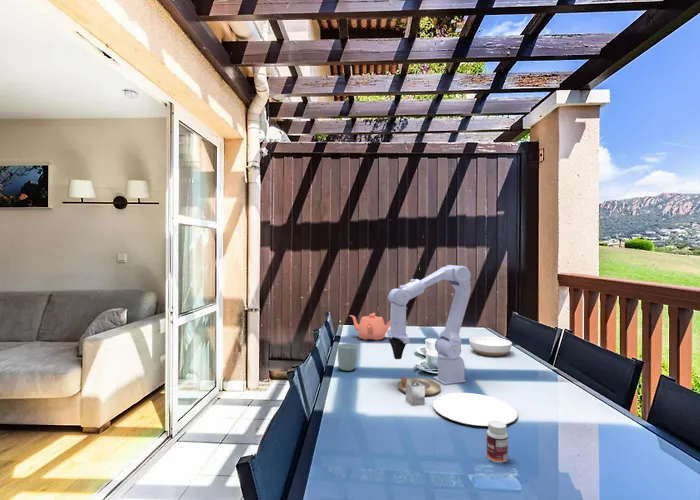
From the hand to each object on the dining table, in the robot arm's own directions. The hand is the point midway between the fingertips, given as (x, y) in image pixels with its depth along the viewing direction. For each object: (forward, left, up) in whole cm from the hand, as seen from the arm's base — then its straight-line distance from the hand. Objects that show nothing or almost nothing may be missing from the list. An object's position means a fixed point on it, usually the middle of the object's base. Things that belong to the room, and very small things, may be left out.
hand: (397, 358), depth 144 cm
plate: (-12, +28, -10) cm, 32 cm away
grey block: (+2, +16, -10) cm, 19 cm away
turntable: (-5, +6, -10) cm, 13 cm away
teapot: (-19, -73, -10) cm, 77 cm away
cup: (+12, -24, -10) cm, 28 cm away
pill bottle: (0, +53, -10) cm, 54 cm away
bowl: (-62, -27, -10) cm, 69 cm away
